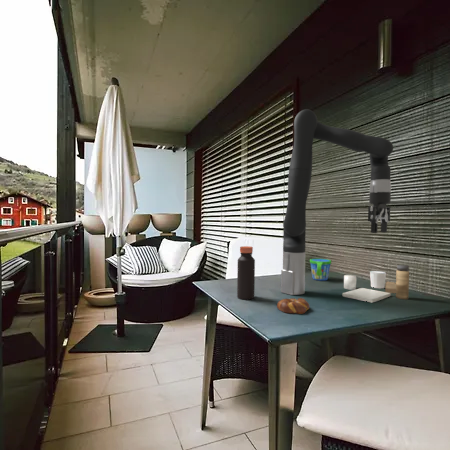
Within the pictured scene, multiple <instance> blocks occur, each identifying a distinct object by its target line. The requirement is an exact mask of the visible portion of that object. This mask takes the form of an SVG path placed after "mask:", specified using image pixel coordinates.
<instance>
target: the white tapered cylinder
mask: <svg viewBox="0 0 450 450" xmlns="http://www.w3.org/2000/svg"><path fill="white" fill-rule="evenodd" d="M369 276H370V287H371V288H373V287H374V288H373V289H384V288H385V285H386V279H387V272H385V271H381V270H371V271H369Z"/></svg>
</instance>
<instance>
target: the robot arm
mask: <svg viewBox="0 0 450 450" xmlns="http://www.w3.org/2000/svg"><path fill="white" fill-rule="evenodd" d="M293 129H294V132H293V133H294V136H293V137H294V139H293V148H292V152H291V157H290V162H289V168H288V178H287V205H286V206H287V207H286V210H285V216H284V219H283V223H282V226H283V227H282V228H283V244H282V245H283V246H282V269H281V271H280V272H281V273H280V293H283V294H286V295H287V294H288V295H291V296H294V295H295V296H296V295H297V296H298V295H303V294H306V293H305V292H306V291H305V289H306V248H307V247H306V232H307V231H306V227H307V222H306V220H307V219H306V212H307V211H306V210H307V201H308V195H309V192H310V187H311V181H312V172H313V142H314V139H315V140H319V141H323V142H326V143H331V144H334V145H338V146H339V147H343V148H345V149H348V150H352V151H354V152H359V153H361V152H365V153H367V154H369V164H370V182H369V195H368V196H369V204H370V205H369V206H368V208H367V209H368V210H367V211H368V212H367V222H369V223H370V233H371V234H378V226H379V225H378V222H379V220H380V232H381V233H387V232H388V224H389V222H391V207H390V206H387V205H389V204H390V205H391V201H392V200H391V198H392V197H391V195H392V184H391V175H392V174H391V171H392V170H391V166H390V165H389V157H390V155H391V154H392V153H393V151H394V145H393V143H392V142H391V141H390V140H388V138H384V137H379V136H373V135H368V134H367V135H366V134H364V133H361V132H359V131H356V130H352V129H348V128H344V127H343V128H341V127H335V126H330V125H327V124H324V123H322V122H320V121H318V117H317V115H316V113H315V112H314V111H313V110H311V109H308V108H305V109H302V110H301V111H299V112H298V113H296V116H295V118H294V121H293Z"/></svg>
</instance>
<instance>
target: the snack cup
mask: <svg viewBox="0 0 450 450" xmlns="http://www.w3.org/2000/svg"><path fill="white" fill-rule="evenodd" d="M309 263H310V269H311V276H312V279H313V281H314V280H315V281H320V282H322V281H328V279H329V274H330V270H331V269H330V268H331V264H332V260H331V259H329V258H328V259H326V258H310V259H309Z"/></svg>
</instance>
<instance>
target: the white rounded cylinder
mask: <svg viewBox="0 0 450 450" xmlns="http://www.w3.org/2000/svg"><path fill="white" fill-rule="evenodd" d="M343 289H346V290H349V291H352V290H356V289H357V276H356V275H353V274H345V275H343Z"/></svg>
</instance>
